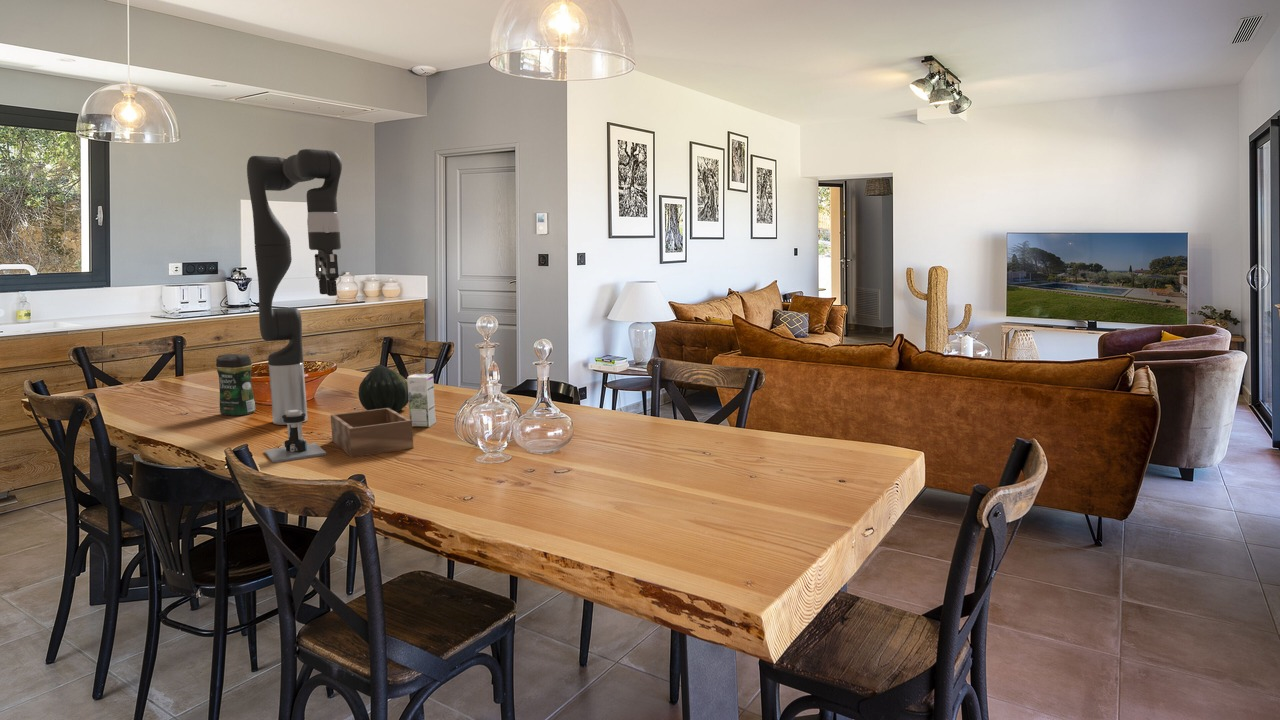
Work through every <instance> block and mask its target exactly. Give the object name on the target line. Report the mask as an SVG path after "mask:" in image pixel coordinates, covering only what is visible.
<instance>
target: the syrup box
mask: <svg viewBox="0 0 1280 720" xmlns="http://www.w3.org/2000/svg"><path fill="white" fill-rule="evenodd" d="M406 379H407V380H406V381H407V383H408V399H409V401H408V413H409V419H410V420H412V428H430V427H432V426H434V425H435V424H436V422H437V421H436V419H437V418H436V407H435V406H436V405H435V385H434V381H435V379H434V373H413V374H410V375H408V376H407V378H406Z"/></svg>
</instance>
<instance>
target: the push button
mask: <svg viewBox="0 0 1280 720" xmlns="http://www.w3.org/2000/svg"><path fill="white" fill-rule="evenodd" d="M305 416H306V414H305V413H302V411H301V410H288V411H286V414H285V415H282V418H283V421H284V422H285V423H287V440H284V442H283V443H281V444H280V445H282V446H284V447H282V448H284V449H286V451H291V452H303V451H306V450H307V445H306V444H307V439H305V438H304V435H303V422H302V421H304V420H305Z"/></svg>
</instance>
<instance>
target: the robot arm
mask: <svg viewBox="0 0 1280 720" xmlns="http://www.w3.org/2000/svg"><path fill="white" fill-rule="evenodd" d="M342 162H343V161H342V159H341V157H340V156H339V154H338V153H337V152H335V151H334V150H327V149H326V150H324V149H314V148H313V149H312V148H305V149H301V150H299V151H298V152H297V154H293V155H290V156H288V157H286V158H284V157H279V156H264V155H252V156H250V157H249V158H248V160H247V163H246V177H247V183H248V184H247V185H248V190H249V196H250V197H249V198H250V205H251V211H252V218H253V219H252V220H253V233H254V234H253V236H254V237H253V238H254V254H255V255H254V256H255V263H256V265H255V266H256V272H257V282H258V283H257V284H258V317H259V318H258V319H259V324H258V325H259V332H260V336H261V338H262V339H263V341H266V342H274V341H275V342H276V341H288V343H287V345H285V346H283V348H280V349H279V350H277V351H274V352H272V353H269V355H268V356H267V360H268V361H267V363H268V375H269V384H270V386H269V387H270V399H271V400H270V401H271V413H272V423H273V424H274V425H279V426H280V425H281V426H285V425H287V423H285V422H284V421H283V418H282V415H285V414H286V411H288V410H301V411H302V413H305V414H306V416H305V420H304V421H302V423H305V422H307V421H308V408H307V406H308V405H307V393H306V380H305V379H306V378H305V366H304V354H303V350H304V349H303V324H302V323H303V322H302V315H301V311H300V310H299V309H298V308H297V307H278V308H277V307H272V305H273V299H274V297H275V293H276V291H277V289H278V287H279V285H280V284H281V282H282V280H283V279H284V277H285V276H286V274H287V272H288V270H289V269H290V268H291V267H290V266H291V264H292V259H293V258H292V247H291V243H292V242H291V237H290V235H289V234H288V232H287V230H286V229H285V227H284V226H283V224H282V223H281V222H280V220H279V219H278V218H277V217H276V215H275V213H274V212H273V211H272V209H271V206H270V204H269V201H268V198H267V197H268V196H267V194H266V191H270V192H272V191H274V192H275V191H276V192H277V191H278V192H281V191H283V192H284V191H287V190H289V189H291V188H292V187H294V186H296V185H297V184H298V183H305V182H309V181H313V180H315V179H319V180H324V181H323V184H322V186H319V187H313V188H310V189H308V190H307V192H306V207H307V217H306V218H307V222H306V223H307V239H308V248H309V250H311V251H318V252H317V253H315V254H314V261H315V262H314V264H315V265H314V266H315V277H316V279H317V280H318V288H319V289H318V290H319V294H320V295H327V296H329V297H333V296H334V297H336V296H337V295H338V290H337V281H338V279H339V277H340V274H339V264H338V255H337V253H334V250H336V251H337V250H341V248H342V245H341V244H342V243H341V232H340V231H341V230H340V220H339V215H338V202H337V201H338V200H337V195H338V188H339V184H340V183H339V182H340V179H341V176H342V169H343V163H342Z"/></svg>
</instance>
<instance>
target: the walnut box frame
mask: <svg viewBox="0 0 1280 720" xmlns="http://www.w3.org/2000/svg"><path fill="white" fill-rule="evenodd" d="M330 427H331V441H332V442H333V443H334V444H335V445H337V446H338V447H339V448H340V449H341V450H342V451H344V452H345V453H346V454H347V455H349V456H350V457H351V458H357V457H362V456H369V455H376V454H382V453H388V452H389V453H391V452H397V451H402V450H409V449H414V435H413V434H414V433H413V427H412V420H410V418H408V417H406V416H405V415H403V414H402V413H401V414H400V413H399V412H395V411H393V410H392V409H390V408H383V409H375V410H366V409H365V410H359V411H352V412H350V411H349V412H344V413H335V414H330Z"/></svg>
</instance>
